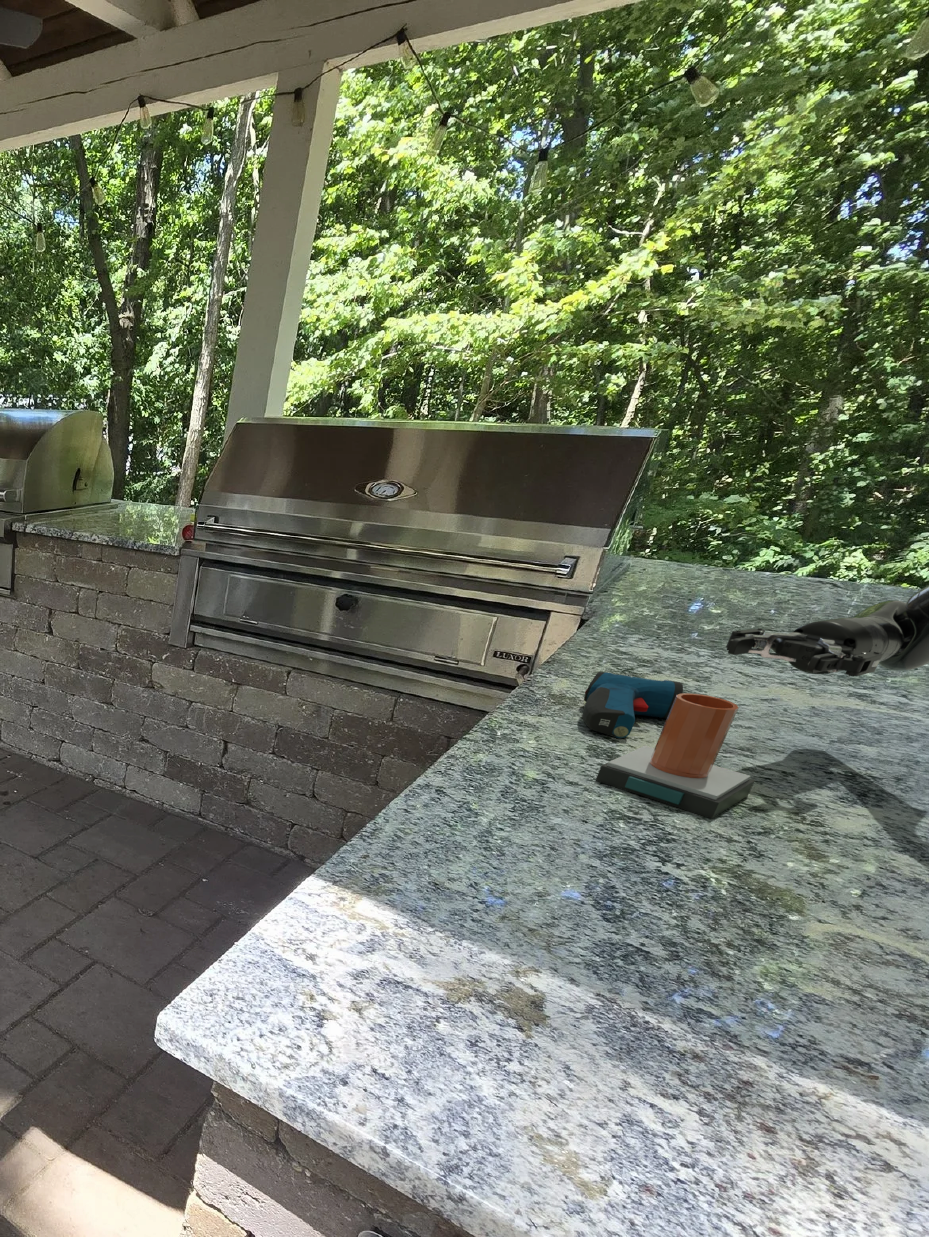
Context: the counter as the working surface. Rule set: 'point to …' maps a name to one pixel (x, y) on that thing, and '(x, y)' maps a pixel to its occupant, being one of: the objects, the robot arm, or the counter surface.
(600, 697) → the infrared thermometer
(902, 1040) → the counter surface
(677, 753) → the cup
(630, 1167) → the counter surface
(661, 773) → the scale
